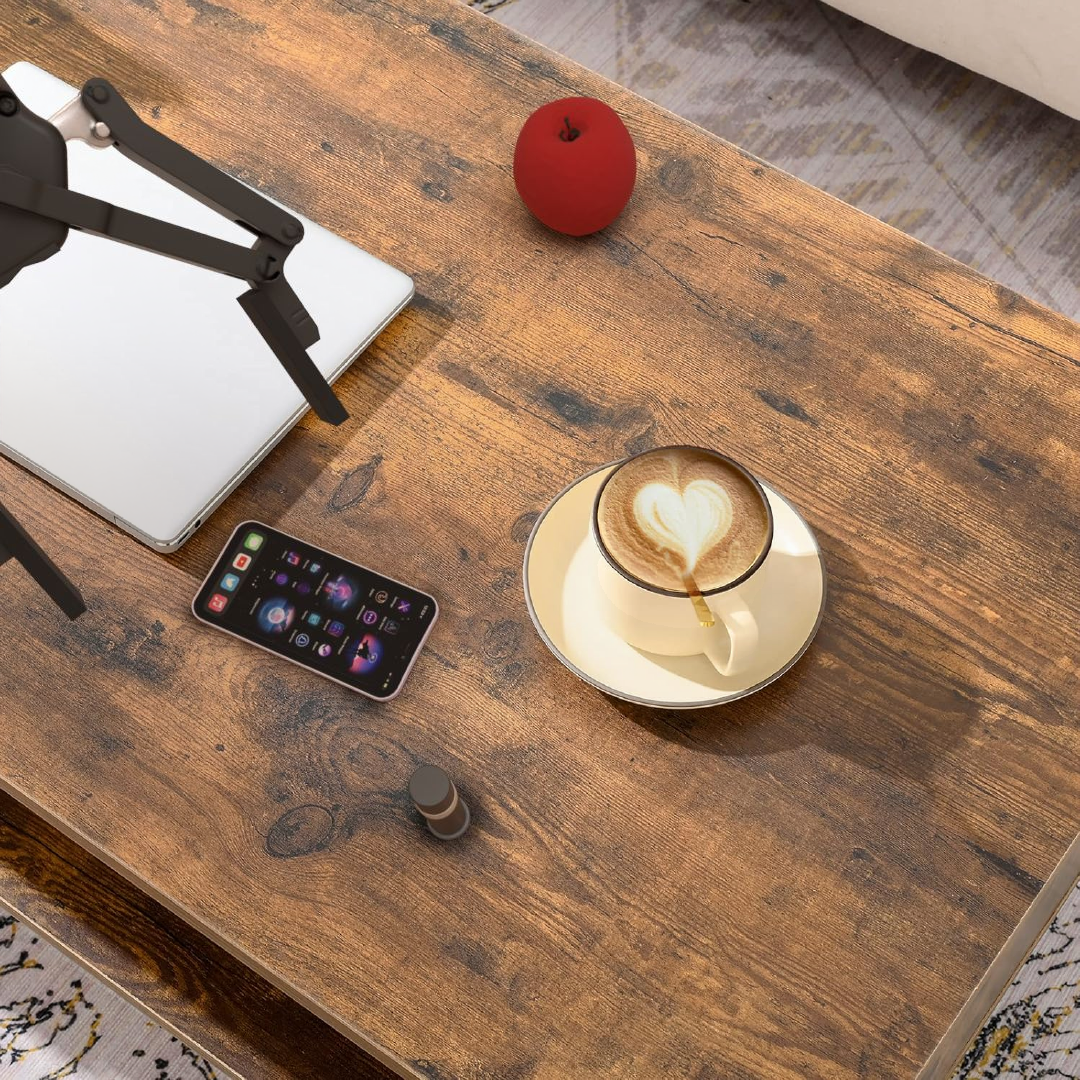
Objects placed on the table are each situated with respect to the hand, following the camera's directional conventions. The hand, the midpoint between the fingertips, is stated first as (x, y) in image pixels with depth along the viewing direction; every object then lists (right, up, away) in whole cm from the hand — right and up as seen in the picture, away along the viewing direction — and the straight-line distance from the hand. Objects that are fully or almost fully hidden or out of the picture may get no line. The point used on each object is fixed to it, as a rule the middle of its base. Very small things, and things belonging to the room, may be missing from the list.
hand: (210, 510), depth 50 cm
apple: (+17, +24, +37) cm, 47 cm away
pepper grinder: (+9, -18, +19) cm, 28 cm away
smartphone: (0, -6, +25) cm, 25 cm away
